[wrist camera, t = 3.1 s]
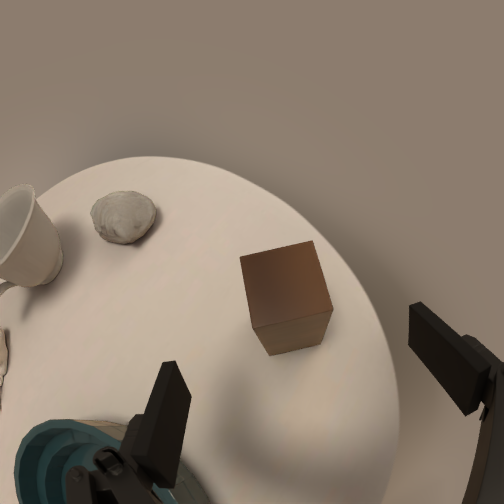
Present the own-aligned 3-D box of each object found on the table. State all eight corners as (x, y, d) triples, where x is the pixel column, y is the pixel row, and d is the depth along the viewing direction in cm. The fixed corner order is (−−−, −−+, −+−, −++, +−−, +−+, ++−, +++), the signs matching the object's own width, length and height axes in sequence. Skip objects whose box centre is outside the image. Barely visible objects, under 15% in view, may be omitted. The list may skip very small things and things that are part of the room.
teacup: (3, 305, 31) (-46, 276, 23) (49, 219, 37) (9, 178, 28) (44, 343, 28) (-19, 315, 19) (96, 237, 34) (49, 188, 25)
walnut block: (308, 296, 27) (312, 240, 18) (320, 344, 24) (333, 309, 16) (259, 307, 27) (239, 256, 18) (268, 356, 25) (252, 328, 16)
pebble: (95, 256, 32) (71, 234, 28) (107, 202, 36) (89, 178, 32) (157, 247, 32) (137, 222, 27) (165, 190, 35) (150, 162, 31)
